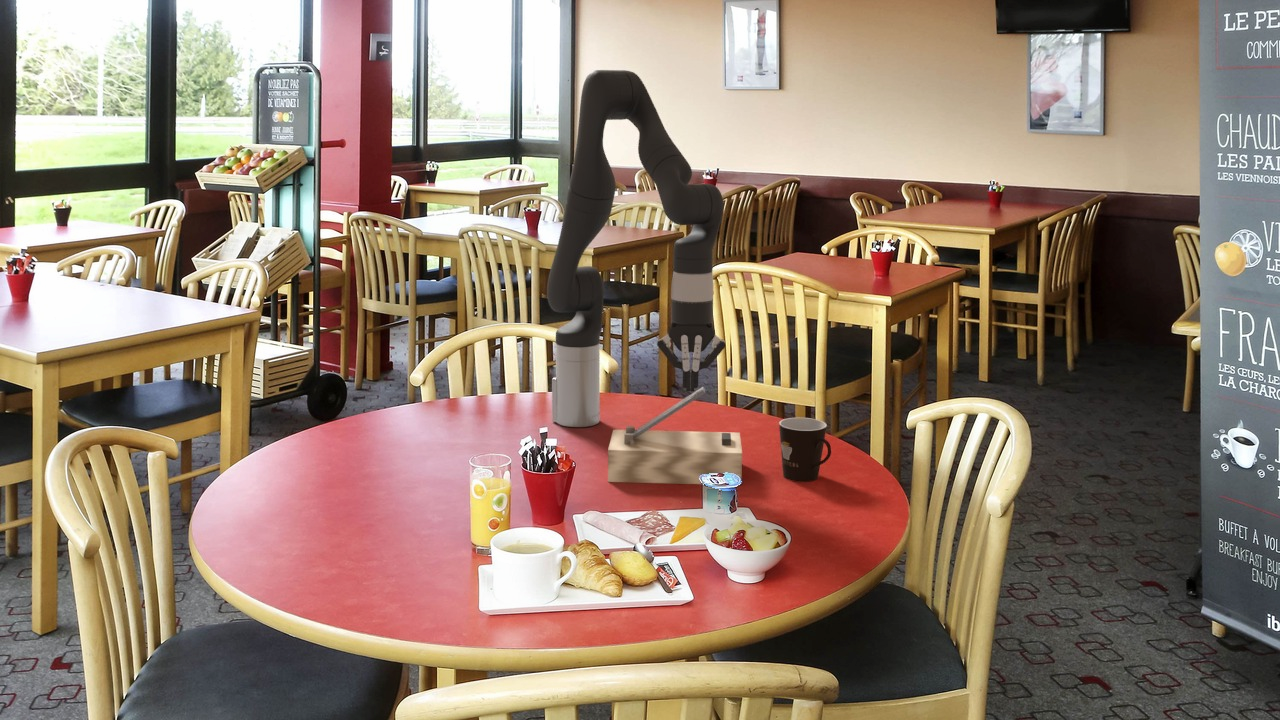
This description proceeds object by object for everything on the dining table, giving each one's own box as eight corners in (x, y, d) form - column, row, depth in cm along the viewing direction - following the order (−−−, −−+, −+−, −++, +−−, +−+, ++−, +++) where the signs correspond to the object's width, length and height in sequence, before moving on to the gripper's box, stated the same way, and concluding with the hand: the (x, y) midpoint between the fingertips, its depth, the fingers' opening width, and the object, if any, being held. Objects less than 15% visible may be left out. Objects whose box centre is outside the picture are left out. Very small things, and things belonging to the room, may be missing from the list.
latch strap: (632, 440, 211) (630, 437, 211) (633, 435, 214) (631, 432, 214) (704, 393, 209) (703, 390, 209) (704, 389, 212) (703, 386, 212)
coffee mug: (772, 469, 216) (774, 417, 214) (818, 468, 217) (820, 417, 215) (785, 489, 205) (787, 435, 203) (833, 489, 206) (835, 435, 203)
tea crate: (607, 481, 208) (608, 440, 207) (613, 459, 221) (613, 420, 219) (741, 485, 207) (742, 443, 205) (738, 462, 220) (739, 423, 218)
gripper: (654, 299, 203) (653, 394, 207) (729, 300, 203) (727, 396, 206) (656, 292, 211) (655, 384, 214) (728, 293, 210) (726, 386, 214)
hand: (690, 390), depth 210 cm, fingers closed
